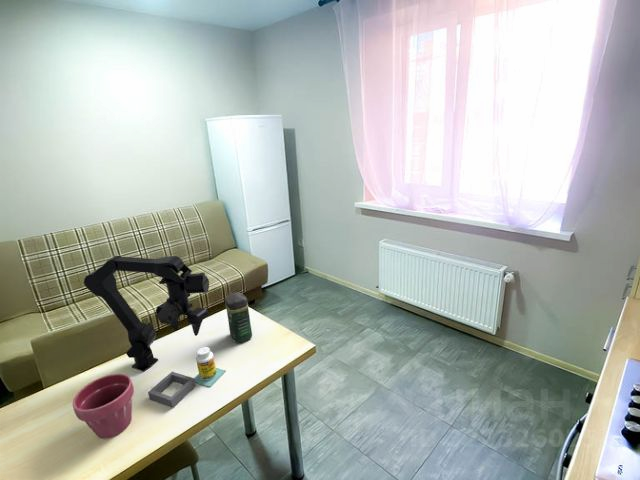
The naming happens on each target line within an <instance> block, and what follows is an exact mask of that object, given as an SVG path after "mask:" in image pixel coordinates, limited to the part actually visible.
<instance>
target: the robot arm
mask: <svg viewBox="0 0 640 480" xmlns="http://www.w3.org/2000/svg"><path fill="white" fill-rule="evenodd" d="M117 271H118V272H129V273H130V272H131V273H133V272H134V273H144V274H145V273H146V274H153V275H155V276H156V277H159V278H161V280H160V281H159V282H158V284H159V285H166V289H167V293H168V297H167V298H166V300H165V301H164V302H162V303H161V304H159V305H158V306H157V307H156V309H155V313H156V316H155V317H156V318H157V320H158V321H159V322H160V323H161V324H165V325H168V326H169V325H170V326H171V327H172V328H173V330H174V331H176V332H177V331H178V330H179V318H180V317H181V316H183V315H184V316H186V318H187V321H188V322H187V324H189V325H191V328H192V332H193V333H194V334H193V335H194V336H195V337H197V336H198V335H199V332H200V330H201V326H202V323H203V320H205V319H206V318H207V317H209V311H208V309H207V308H205V307H204V308H203V307H200V306H199V307H196V308H194V309H191V308H192V307H193V303H190V300H189V297H191V294H205V293H208V292H209V289H210V279H209V278H208V276H207V275H206V273H205V272H199V273H192V272H193V270H192V269H191V268H190V267H188V265H186V263H185V262H184V261H183V260H182V259H181V257H180V256H177V255H171V256H170V255H169V256H164V257H163V256H162V257H158V258H146V257H145V258H144V257H133V256H132V257H131V256H121V255H114V256H112V257H111V258H109V259H108V260H106V261H105V263H103V264H102V266H100V267H98V268H96V269H95V270H93V271H92V272H90V273H89V274H87V275H86V276H85V277H84V280H83V285H84V286H85V288H86V289H88V291H89V292H91V293H92V295H95V296H97V297H100V298H102V300H103V301H104V302H105V304H107V306H108V307H109V308H110V310H111V311H112V312H113V314H114V315H115V316H116V318H117V319H118V320H119V322H120V323H121V324H122V326H123V327H124V328H125V329H126V331H127V337H128V338H127V339H128V342H129V344H130V346H131V347H129V349H127V351H126V353H125V354H126V355H127V357H128V358H129V359H130V358H131V359H133V360H134V364H132V365H131V368H132V369H135V370H138V371H142V372H146V370H149V369H150V368H151V367H152V366H154V364H156V363H157V362H159V358H157V357H155V356H154V353H153V350H152V348H151V346H152V344H153V343H154V341H155V340H156V338H157V332H156V331H157V329H156V328H154V327H153V325H152V323H151V322H147V323H146V322H144V321H141V320H140V318H139V317H138V315H137V314H136V313H135V312H134V309H132V307H131V306H130V305H129V303H128V302H127V301H126V299H125V298H124V296H123V295H122V294H121V293H120V291H119V289H118V286H117V279H116V276H115V275H114V274H115V273H116V272H117ZM180 273H181V274H180Z"/></svg>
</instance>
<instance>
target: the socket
mask: <svg viewBox="0 0 640 480" xmlns="http://www.w3.org/2000/svg"><path fill="white" fill-rule="evenodd" d="M194 378H195V377H191V376H188V375H184V374H181V373H178V372H175V371H170V373H168V374H167V375H166V376H165V377H164V378H162V379H161V380H160V381H159V382H158V383H157V384H155V386H153V387H152V388H151V389H149V391H148V392H147V394H148V399H149V400H150V401H152V402H155V403H157V404H161V405H162V406H166V407H168V408H172V409H174V408H176V406H178V405H179V403H180V402H182V401H183V400H184V398H185V397H186V396H188V394H190V393H191V391H193V390H194V389H195V388H196V387H197V385H196V384H197V383H195V379H194ZM173 383H176V384H179V385H182V386H181V387H180V388H179V389H178V390H177V391H176V392H175V393H173V394H172V396H170V395H167V394H164V393H163V392H164V391H165V390H166V389H168V388H169V387H170V386H171V385H172V384H173Z"/></svg>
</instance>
